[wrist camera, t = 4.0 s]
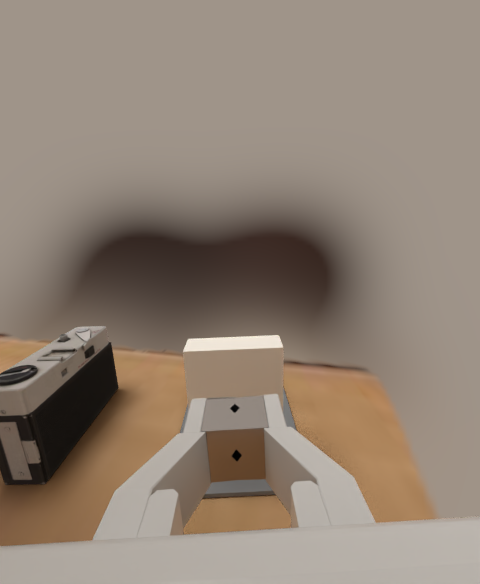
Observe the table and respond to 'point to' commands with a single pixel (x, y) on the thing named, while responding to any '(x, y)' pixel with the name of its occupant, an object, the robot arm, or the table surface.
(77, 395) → the camera
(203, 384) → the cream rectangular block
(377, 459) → the table surface
